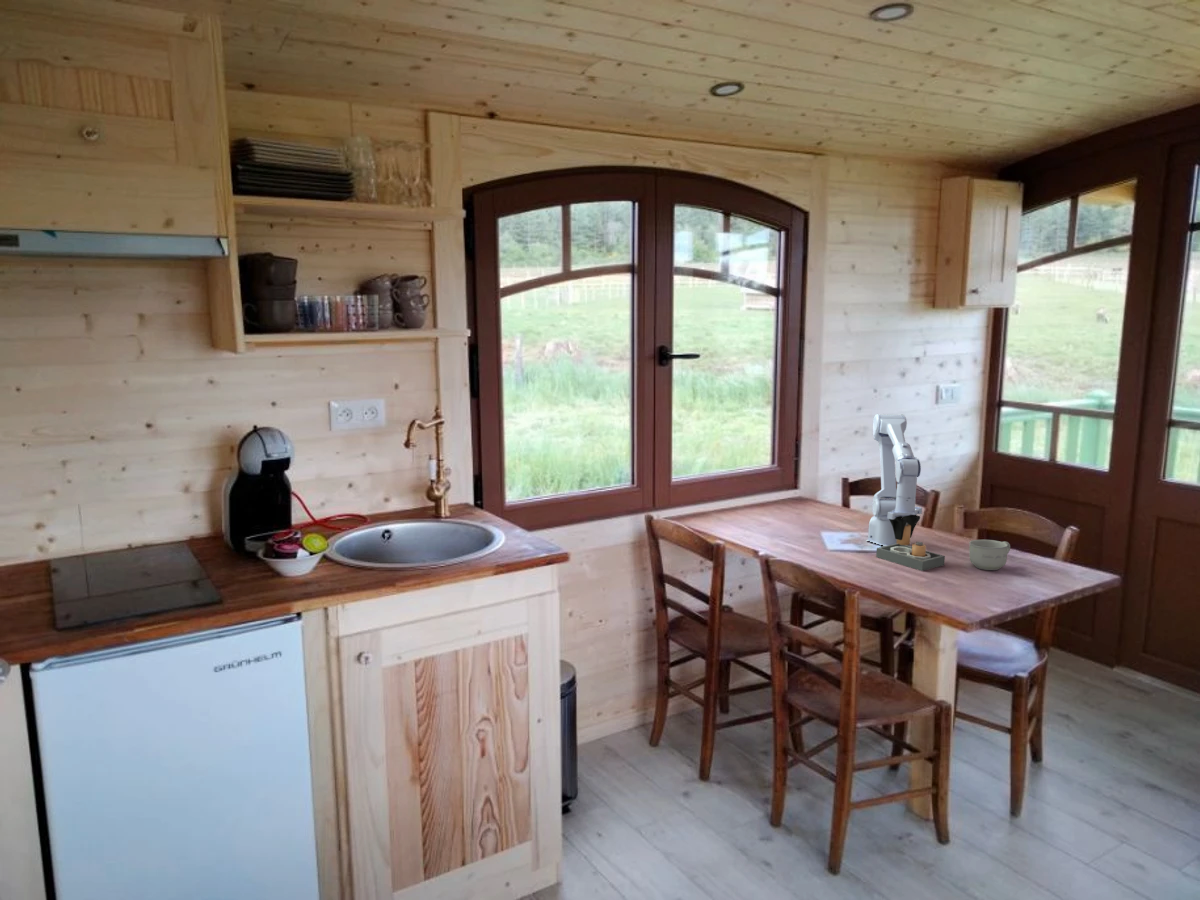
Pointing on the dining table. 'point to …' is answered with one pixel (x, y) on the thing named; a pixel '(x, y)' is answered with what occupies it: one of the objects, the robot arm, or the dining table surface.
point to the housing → (911, 556)
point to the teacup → (988, 554)
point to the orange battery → (905, 536)
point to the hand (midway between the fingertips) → (903, 538)
